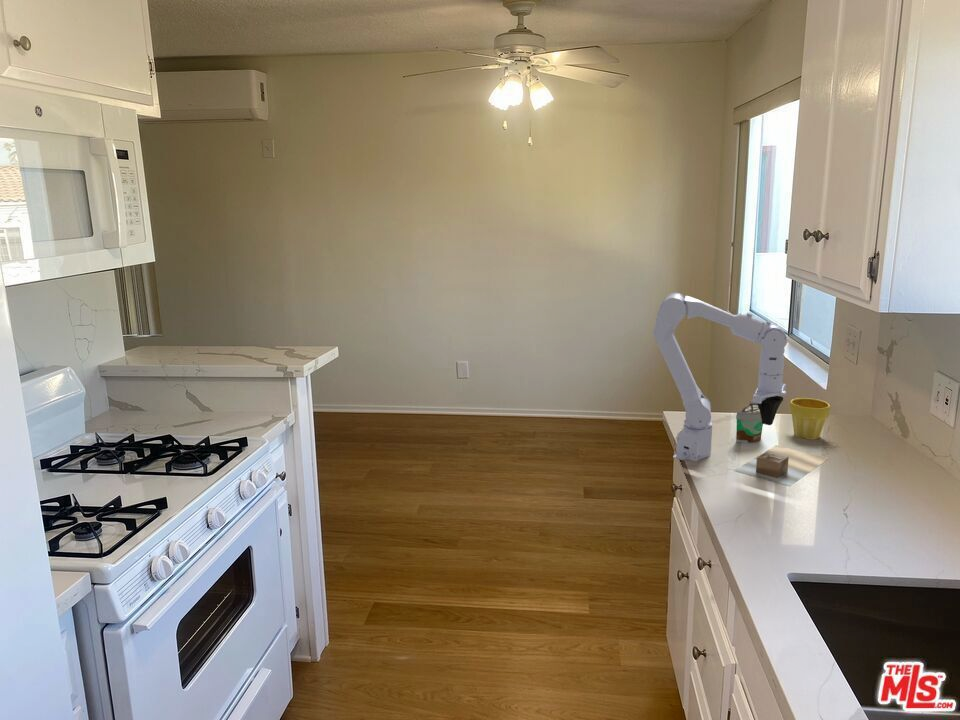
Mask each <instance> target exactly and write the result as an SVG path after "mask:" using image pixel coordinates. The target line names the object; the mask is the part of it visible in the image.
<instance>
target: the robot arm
mask: <svg viewBox="0 0 960 720" xmlns="http://www.w3.org/2000/svg"><path fill="white" fill-rule="evenodd" d="M686 315H687V320H690V319H693V318H698V317H700V318H704V319H706V320H709V321H711V322H715V323H718V324H720V325H723V326H725V327H729V329H730V332H731V334H733V335H735V336H737V337H740V338H742V339H745V340H747V341H750V342H753V343H755V344H761V352H760V354H759V365H758V376H757V377H758V379H757V381H758V382H757V388H756V390H755V393H754V394H753V395H752V400H751V401H752V402H753V403H757V405H758V407H759V410H760V414H761V419H762V424H763V425H766V426H772V424H773V423H774V421H775V417H776V415H777V412H778V410H779V407H780V405H781V404H782V402H784V397H783V396H786V395H787V391H786V386H787V385H786V383H784V382H783V379H784V369H785V367H784V366H785V355H784V354H785V351H786V350H785V347H786V346H787V344H788V339H787V335H786V332H785V330H784V328H782V327H781V325H778V324H777V323H774V322H771V320H770V321H769V320H766V321H765V320H761V319H759V318H756V317H754V316H753V313H751V312H746V313H745V312H740V313H736V314H732V313H731V312H728V311H725V310H723V309H721V308H719V307H716V306H714V305H712V304H710V303H707V302H705V301H702V300H700V299H697V298H695V297H693V296H689V295H685V296H684V295H683V294H682V293H679V292H672V293H669V294H668V295H666V296H665V297H664V299H663V301H662V302H661V304H660V305H659V308H658V310H657V313H656V318H655V323H654V329H653V334H652V335H653V337H654V340H655V341H656V344H657V346H658V348H659V350H660V353H661V355H662V357H663V360H664V362H665V363H666V366H667V368H668V371H669V372H670V375H671V377H672V379H673V381H674V383H675V386H676V388H677V390H678V392H679V394H680V398H681V401H682V405H683V407H684V409H685V419H684V421H683V427H682V429H681V430H680V431H679V432H678V433H677V435H676V450H675V451H676V452H675V454H674V455H673V456H672V458H673V459H676V460H679V461H680V460H681V461H685V460H689V461H693V462H698V461H700V460H702V459H705V458H708V457H711V455H712V436H713V422H712V421H711V419H712V414H711V413H712V412H711V411H712V403H711V402H710V399H708V398H707V397H706V396H705V395H704V394H703V392H702V390H701V389H700V388H699V386H698V385H697V382H696V380H695V378H694V376H693V374H692V371H691V369H690V367H689V365H688V363H687V361H686V358H685V355H684V354H683V352H682V349H681V347H680V344H679V343H678V341H677V339H676V336H675V334H674V332H675V330H676V328H677V326H678V324H679V323H680V322H681V321H682V320H683V318H685V317H686Z"/></svg>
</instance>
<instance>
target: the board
mask: <svg viewBox="0 0 960 720" xmlns="http://www.w3.org/2000/svg"><path fill="white" fill-rule="evenodd" d="M765 452H772V453H776V454H780V455H784V456H788V457H789V460H788V472H787V473H785V474H784V475H782V476H781V477H779V478H774V477H770V476H767V475H763V474H759V473H756V463H757V457H758V456H760V455H762V454H763V453H765ZM763 453H761V454H759V455H758V456H756V457H755V458H753V459H751V460H750V461H748V462H746V463H744V464H743V465H741V466H739V467H738V468H736V469H734V470H733V471H734V472H736V473H740V474H743V475H747V476H751V477H754V478H758V479H761V480H765V481H768V482H773V483H776V484H780V485H784V486H786V487H791V486H792V485H794V484H795V483H797V482H798V481H799V480H801V479H802V478H804V477H805V476H806V475H807V474H809V473H811V472H812V471H813V470H815V469H816V468H818V467H819V466H820V465H822V464H823V463H825V462H826V461H828V460H829V459H830V457H827V456H824V455H823V456H822V455H819V454H814V453H810V452H805V451H802V450H797V449H793V448H789V447H784V446H779V445H775V446H773V447H771V448H769V449H768V450H766V451H764V452H763Z"/></svg>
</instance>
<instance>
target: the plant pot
mask: <svg viewBox="0 0 960 720" xmlns="http://www.w3.org/2000/svg"><path fill="white" fill-rule="evenodd" d="M830 413H831V405H830V403H828V402H827V401H825V400H821V399H817V398H809V397H797V398H793V399H791V400H790V402H789V414H790V415H791V417H792V418H791V419H792V426H793V434H794V436H795V437H797V438H800V439H803V438H804V440H817V439H820V437H821V434H822V431H823V428H824V425H825V422H826V420H827V418H829V416H830Z"/></svg>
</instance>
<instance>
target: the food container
mask: <svg viewBox="0 0 960 720" xmlns="http://www.w3.org/2000/svg"><path fill="white" fill-rule="evenodd" d="M752 401H753V400H751V401H749V404H748V406H745V407H744V408H743V409H742V410H741V411H736V416H735V419H736V436H735V437H736V441H735V442H737V443H745V444H746V443H747V444H750V443H757V442H759V441H761V440H762V433H763V426H764V424H762V419H761V414H760V410H759V407H758V405H757V403H753V402H752Z"/></svg>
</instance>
